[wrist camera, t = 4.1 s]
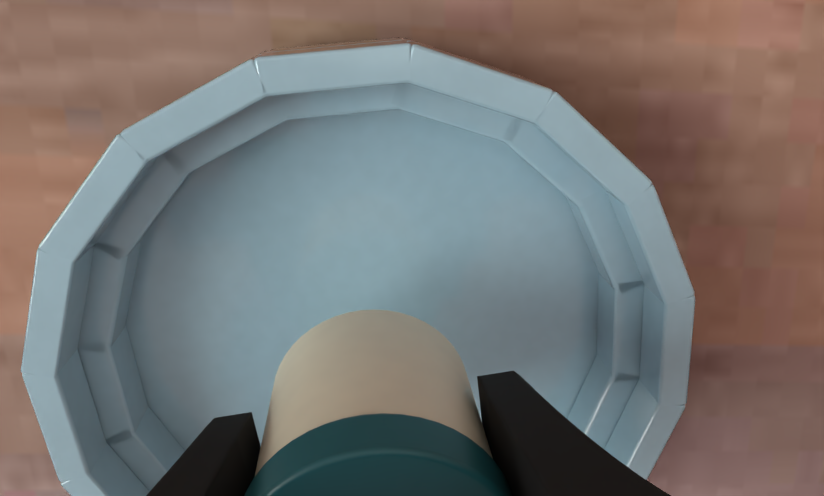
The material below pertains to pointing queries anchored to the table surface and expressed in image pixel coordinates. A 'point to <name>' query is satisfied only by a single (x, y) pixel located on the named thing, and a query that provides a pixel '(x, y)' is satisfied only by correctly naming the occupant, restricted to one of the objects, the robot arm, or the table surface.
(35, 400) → the basin
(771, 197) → the table surface
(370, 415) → the lidded jar
